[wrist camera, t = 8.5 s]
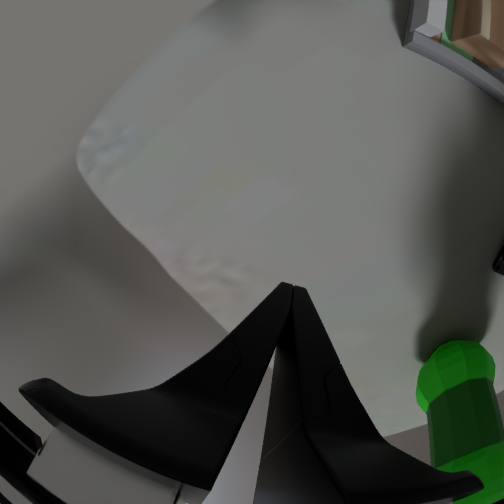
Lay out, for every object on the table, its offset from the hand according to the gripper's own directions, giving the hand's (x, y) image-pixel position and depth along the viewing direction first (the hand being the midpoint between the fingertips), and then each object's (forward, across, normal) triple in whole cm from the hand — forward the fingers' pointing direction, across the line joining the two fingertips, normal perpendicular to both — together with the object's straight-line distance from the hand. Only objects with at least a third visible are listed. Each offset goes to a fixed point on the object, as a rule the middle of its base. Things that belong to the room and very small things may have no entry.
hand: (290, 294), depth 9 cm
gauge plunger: (+10, -8, -17) cm, 22 cm away
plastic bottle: (+12, -22, +13) cm, 28 cm away
